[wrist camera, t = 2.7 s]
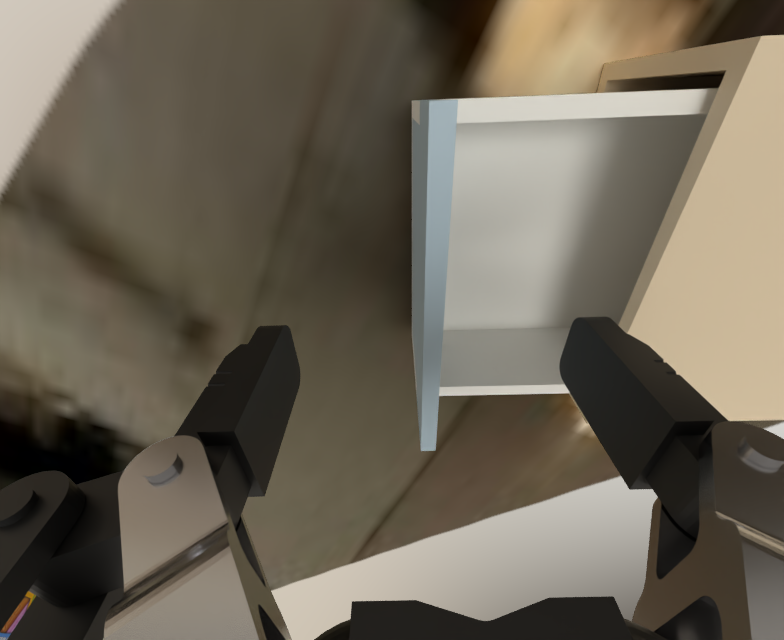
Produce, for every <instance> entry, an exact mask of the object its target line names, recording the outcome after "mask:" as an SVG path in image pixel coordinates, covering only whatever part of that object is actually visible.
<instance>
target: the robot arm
mask: <svg viewBox="0 0 784 640" xmlns="http://www.w3.org/2000/svg"><path fill="white" fill-rule="evenodd" d="M559 368H560V375H561V378H562V380H563V382H564V384H565V386H566V387H567V389H568V390H569V392H570V394H571V395H572V397H573V399H574V400H575V402H576V403H577V405H578V407H579V408H580V410H581V411H582V413H583V415H584V416H585V418H586V420H587V421H588V423H589V424H590V426H591V428H592V429H593V431H594V433H595V434H596V436H597V437H598V439H599V441H600V442H601V444H602V445H603V447H604V449H605V450H606V452H607V454H608V455H609V457H610V458H611V460H612V462H613V463H614V465H615V467H616V468H617V470H618V471H619V473H620V475H621V476H622V478H623V479H624V481H625V482H626V484H627V486H628V488H629V489H653V490H654V492H655V493H656V495H657V496H658V498H657V499H656V501H655V502H654V504H653V509H652V519H651V529H650V541H649V550H648V561H647V571H646V580H645V585H644V589H643V592H642V595H641V597H640V599H639V601H638V603H637V606H636V608H635V611H634V615H633V619H632V622H631V621H629V620H626V619H624V618H623V616H622V614H621V612H620V610H619V607H618V605H617V603H616V601H615V599H614V597H565V598H547V599H545V600H542V601H540V602H537V603H535V604H532V605H530V606H527V607H524V608H522V609H519V610H517V611H514V612H512V613H509V614H507V615H504V616H502V617H500V618H497V619H495V620H491V621H480V620H477V619H474V618H470V617H467V616H464V615H461V614H458V613H454V612H451V611H448V610H445V609H442V608H438V607H435V606H432V605H429V604H426V603H423V602H419V601H416V600H409V601H356V602H352V609H351V619H350V620H348V621H345V622H342V623H340V624H338V625H336V626H334V627H333V628H331V629H329V630H327V631H325V632H324V633H323V634H321V635H320V636H319V637H317V638H316V639H314V640H784V439H782V438H780V437H779V436H777V435H775V434H773V433H771V432H769V431H767V430H764V429H762V428H759V427H757V426H753V425H750V424H746V423H742V422H735V421H728V420H727V419H726V418H725V417H724V416H723V415H722V414H721V413H720V412H719V411H718V410H717V409H715V408H714V407H713V406H712V405H711V404H710V403H709V402H708V401H707V400H706V399H705V398H704V397H703V396H702V395H701V394H700V393H699V392H697V391H696V390H695V389H694V388H693V387H692V386H691V385H690V384H689V383H688V382H687V381H686V380H685V379H684V378H683V377H682V376H681V375H677V374H676V371H675V370H674V369H673V368H672V367H671V366H670V365H669V364H668V363H667V362H665V363H664V359H663V358H661V357H660V356H659V355H658V354H657V353H656V352H655V351H654V350H653V349H652V348H651V347H650V346H649V345H647V344H645V343H643V342H642V341H640V340H638V339H637V338H635V337H633V336H631V335H630V334H626V333H625V332H624V331H623V330H622V329H621V328H620V327H619V326H618V325H617V324H616V323H615V322H614V321H613V320H612V319H611V318H609V317H578V318H576V319H575V320H574V321H573V323H572V325H571V328H570V331H569V334H568V337H567V340H566V343H565V346H564V349H563V352H562V355H561V359H560V364H559ZM299 384H300V367H299V363H298V359H297V355H296V351H295V347H294V343H293V339H292V335H291V331H290V329H289V327H288V326H287V325H282V326H260V327H258V328H257V330H256V331H255V333H254V335H253V336H252V338H251V340H250V342H249V343H248V344H241V345H239V346H238V347H237V348H236V349H234V350H233V351H232V352H231V353H229V354H228V355H227V356H226V357H225V358H224V360H223V361H222V363H221V364H220V366H219V367H218V369H217V371H216V374H214V375H213V377H212V378H211V380H210V381H209V383H208V387H206V388H205V389H204V391H203V392H202V394H201V395H200V397H199V399H198V400H197V402H196V403H195V405H194V406H193V408H192V409H191V411H190V413H189V414H188V416H187V417H186V419H185V420H184V422H183V423H182V425H181V427H180V428H179V430H178V431H177V433H176V434H175V436H174V437H170V438H166V439H164V440H161V441H159V442H157V443H155V444H153V445H151V446H150V447H148V448H146V449H145V450H144V451H142V452H141V453H140V454H138V455H137V456H136V457H135V458H134V459H133V460H132V461H131V462H130V463H129V465H128V466H127V467H126V469H125V470H124V471H121V472H118V473H115V474H111V475H108V476H105V477H101V478H98V479H94V480H91V481H88V482H84V483H81V484H78V485H76V484H75V483H74V482H73V481H71V480H70V479H69V478H68V477H67V476H66V475H65V474H64V473H62V472H59V471H45V472H40V473H36V474H33V475H30V476H28V477H25V478H23V479H21V480H18V481H16V482H14V483H13V484H11V485H9V486H7V487H6V488H4V489H2V490H1V491H0V631H1V630H2V628H3V627H4V626H5V624H6V623H7V621H8V620H9V618H10V617H11V615H12V614H13V613H14V611H15V610H16V608H17V607H18V605H19V604H20V602H21V601H22V599H23V598H24V597H25V595H26V594H27V592H28V591H29V592H31V593H33V594H34V595H36V597H35V598H34V600H33V601H32V603H31V604H30V606H29V607H28V609H27V610H26V612H25V613H24V615H23V616H22V618H21V619H20V621H19V622H18V624H17V625H16V627H15V628H14V630H13V631H12V633H11V634H10V636H9V637H8V639H7V640H103V638H104V640H292V639H291V637H290V634H289V631H288V629H287V626H286V624H285V622H284V619H283V617H282V614H281V612H280V610H279V608H278V606H277V604H276V602H275V599H274V597H273V595H272V592H271V590H270V587H269V585H268V582H267V579H266V577H265V574H264V571H263V569H262V566H261V563H260V560H259V558H258V555H257V552H256V550H255V547H254V544H253V542H252V539H251V536H250V534H249V531H248V528H247V525H246V523H245V520H244V517H243V515H242V511H243V508H244V505H245V502H246V500H247V497H257V496H265V493H266V490H267V487H268V484H269V480H270V477H271V474H272V471H273V468H274V465H275V461H276V458H277V455H278V452H279V449H280V446H281V442H282V439H283V436H284V433H285V430H286V427H287V424H288V420H289V417H290V414H291V411H292V408H293V405H294V401H295V398H296V395H297V392H298V389H299Z"/></svg>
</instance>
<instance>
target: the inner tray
mask: <svg viewBox="0 0 784 640" xmlns="http://www.w3.org/2000/svg"><path fill="white" fill-rule="evenodd" d="M718 89H719V88H702V89H677V90H653V91H629V92H605V93H581V94H557V95H532V96H508V97H484V98H460V99H436V100H412V341H413V354H414V367H415V380H416V393H417V406H418V419H419V433H420V446H421V451H436V435H437V420H438V404H439V396H456V395H506V394H555V393H570V392H569V390H568V389H567V387H566V386H565V384H564V382H563V380H562V378H561V375H560V368H559V364H560V359H561V355H562V352H563V349H564V346H565V343H566V340H567V337H568V334H569V331H570V328H571V325H572V323H573V321H574V320H575V319H576V318H578V317H609V318H611V319H612V320H613V321H614V322H615V323H616V324H617V325H619V322H620V320H621V318H622V315H623V313H624V311H625V308H626V306H627V304H628V301H629V299H630V296H631V294H632V292H633V289H634V287H635V285H636V282H637V280H638V278H639V275H640V273H641V271H642V268H643V266H644V263H645V261H646V259H647V256H648V254H649V252H650V249H651V247H652V245H653V242H654V240H655V238H656V235H657V233H658V230H659V228H660V226H661V223H662V221H663V219H664V216H665V214H666V212H667V209H668V207H669V205H670V202H671V200H672V197H673V195H674V193H675V190H676V188H677V186H678V183H679V181H680V179H681V176H682V174H683V172H684V169H685V167H686V164H687V162H688V160H689V157H690V155H691V153H692V150H693V148H694V146H695V143H696V141H697V139H698V136H699V134H700V131H701V129H702V127H703V124H704V122H705V120H706V117H707V115H708V113H709V110H710V108H711V106H712V103H713V101H714V98H715V96H716V94H717V91H718Z"/></svg>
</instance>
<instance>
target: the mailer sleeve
mask: <svg viewBox="0 0 784 640" xmlns="http://www.w3.org/2000/svg"><path fill="white" fill-rule="evenodd" d="M702 88H719V89H718V91H717V94H716V96H715V98H714V101H713V103H712V106H711V108H710V110H709V113H708V115H707V117H706V120H705V122H704V124H703V127H702V129H701V131H700V134H699V136H698V139H697V141H696V143H695V146H694V148H693V150H692V153H691V155H690V157H689V160H688V162H687V164H686V167H685V169H684V172H683V174H682V176H681V179H680V181H679V183H678V186H677V188H676V190H675V193H674V195H673V197H672V200H671V202H670V205H669V207H668V209H667V212H666V214H665V216H664V219H663V221H662V223H661V226H660V228H659V230H658V233H657V235H656V238H655V240H654V242H653V245H652V247H651V249H650V252H649V254H648V256H647V259H646V261H645V263H644V266H643V268H642V271H641V273H640V275H639V278H638V280H637V282H636V285H635V287H634V289H633V292H632V294H631V296H630V299H629V301H628V304H627V306H626V308H625V311H624V313H623V315H622V318H621V320H620V322H619V325H618V326H619V327H620V328H621V329H622V330H623V331H624V332H625V333H626V334H630V335H631V336H633V337H635V338H637V339H638V340H640V341H642V342H643V343H645V344H647V345H649V346H650V347H651V348H652V349H653V350H654V351H655V352H656V353H657V354H658V355H659V356H660V357H661V358H663V359H664V363H665V362H667V363H668V364H669V365H670V366H671V367H672V368H673V369H674V370H675V371H676V374H677V375H681V376H682V377H683V378H684V379H685V380H686V381H687V382H688V383H689V384H690V385H691V386H692V387H693V388H694V389H695V390H696V391H697V392H699V393H700V394H701V395H702V396H703V397H704V398H705V399H706V400H707V401H708V402H709V403H710V404H711V405H712V406H713V407H714V408H715V409H717V410H718V411H719V412H720V413H721V414H722V415H723V416H724V417H725V418H726V419H727V420H728V421H753V420H784V35H772V36H758V37H753V38H747V39H741V40H736V41H730V42H724V43H718V44H713V45H707V46H701V47H695V48H690V49H684V50H678V51H673V52H667V53H661V54H655V55H650V56H644V57H638V58H632V59H627V60H621V61H615V62H610V63H604V66H603V70H602V74H601V78H600V82H599V86H598V90H597V93H605V92H629V91H653V90H677V89H702ZM569 394H570V393H569ZM570 396H571V398H572V399H573V397H572V395H571V394H570ZM573 401H574V403H575V404H576V406H577V408H578V409H579V411H580V413H581V415H582V416H583V418H584V420H585V421H586V423H588V421H587V420H586V418H585V416H584V415H583V413H582V411H581V410H580V408H579V407H578V405H577V403H576V402H575V400H574V399H573Z"/></svg>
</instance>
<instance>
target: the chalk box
mask: <svg viewBox="0 0 784 640" xmlns="http://www.w3.org/2000/svg"><path fill="white" fill-rule="evenodd" d="M35 597H36V595H34V594H33V593H31V592H29V591H28V592H27V594H26V595H25V597H24V598H23V599H22V601H21V602H20V604H19V605H18V607H17V608H16V610H15V611H14V613H13V614H12V615H11V617H10V618H9V620H8V621H7V623H6V624H5V626H4V627H3V628H2V630H1V631H0V640H7V639H8V637H9V636H10V634H11V633H12V631H13V630H14V628H15V627H16V625H17V624H18V622H19V621H20V619H21V618H22V616H23V615H24V613H25V612H26V610H27V609H28V607H29V606H30V604H31V603H32V601H33V600H34V598H35Z"/></svg>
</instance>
